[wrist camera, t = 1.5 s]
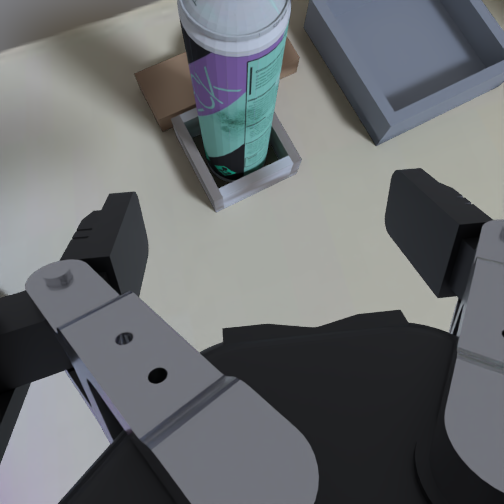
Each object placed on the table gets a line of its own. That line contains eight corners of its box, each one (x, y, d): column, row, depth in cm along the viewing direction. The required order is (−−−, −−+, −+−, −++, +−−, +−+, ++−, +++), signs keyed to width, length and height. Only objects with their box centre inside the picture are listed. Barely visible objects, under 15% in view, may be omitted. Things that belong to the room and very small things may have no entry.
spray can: (235, 115, 36) (231, -142, 16) (278, 154, 35) (329, -65, 15) (193, 155, 35) (135, -67, 15) (237, 195, 34) (236, 18, 15)
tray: (422, -25, 39) (440, -58, 36) (498, 86, 37) (525, 61, 34) (303, 27, 38) (310, -3, 34) (376, 145, 36) (390, 126, 32)
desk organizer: (269, 26, 38) (272, -4, 34) (343, 150, 35) (354, 131, 32) (137, 83, 36) (126, 57, 33) (206, 217, 34) (202, 204, 30)
